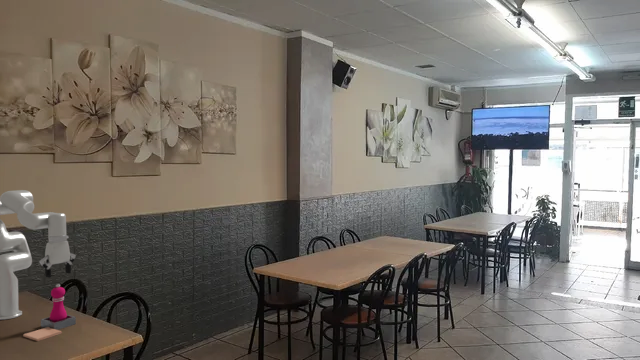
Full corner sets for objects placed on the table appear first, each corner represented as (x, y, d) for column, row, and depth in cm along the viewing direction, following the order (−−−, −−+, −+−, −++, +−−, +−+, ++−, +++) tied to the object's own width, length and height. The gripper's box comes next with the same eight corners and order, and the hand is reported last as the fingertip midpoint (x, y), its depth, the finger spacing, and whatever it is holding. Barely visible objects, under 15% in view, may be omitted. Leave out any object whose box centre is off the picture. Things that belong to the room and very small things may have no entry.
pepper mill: (59, 328, 225) (59, 286, 225) (46, 327, 227) (45, 285, 226) (70, 323, 232) (70, 282, 232) (57, 322, 234) (56, 281, 233)
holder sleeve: (40, 326, 228) (40, 319, 227) (62, 320, 237) (62, 313, 237) (54, 330, 222) (54, 323, 222) (75, 324, 232) (75, 316, 231)
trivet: (23, 336, 215) (23, 334, 215) (47, 329, 224) (47, 327, 224) (37, 341, 209) (37, 338, 209) (61, 333, 219) (61, 331, 219)
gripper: (69, 236, 237) (70, 270, 238) (34, 241, 222) (35, 278, 223) (79, 237, 234) (80, 272, 234) (44, 242, 219) (45, 279, 219)
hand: (58, 275), depth 228 cm, fingers open, 9 cm apart
